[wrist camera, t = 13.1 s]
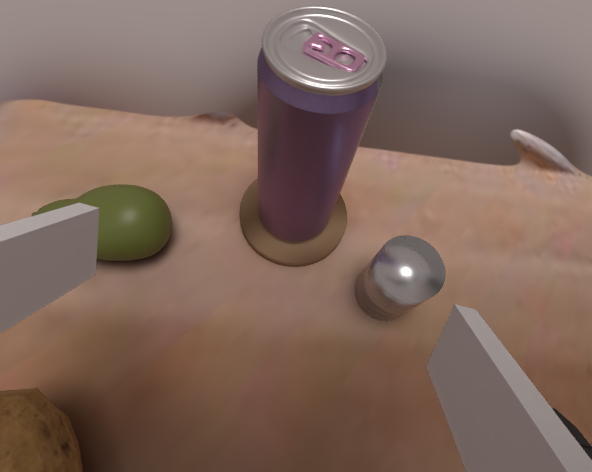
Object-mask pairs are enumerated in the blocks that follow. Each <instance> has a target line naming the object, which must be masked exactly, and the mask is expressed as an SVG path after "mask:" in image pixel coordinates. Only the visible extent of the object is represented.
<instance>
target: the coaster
mask: <svg viewBox="0 0 592 472" xmlns="http://www.w3.org/2000/svg"><path fill="white" fill-rule="evenodd" d="M240 221H241V227H242V231H243V234H244V236H245V238H246V240H247V242H248V243H249V245H250V246H251V247H252V248H253V249H254V250H255V251H256V252H257V253H258V254H259V255H261V256H262V257H264V258H265V259H267V260H269V261H271V262H274V263H276V264H280V265H284V266H305V265H309V264H313V263H316V262H318V261H320V260H322V259H324V258H325V257H327V256H328V255H329V254H330V253H331V252H332V251H333V250H334V249H335V248H336V247H337V245H338V244H339V242H340V240H341V238H342V236H343V234H344V231H345V228H346V223H347V212H346V207H345V203H344V201H343V199H342V197H341V195H340V194H339V197H338V199H337V202H336V204H335V207H334V209H333V212H332V215H331V217H330V220H329V222H328V224H327V226H326V227H325V229H324V230H323V231H322V232H321V233H320V234H318V235H317V236H315V237H313V238H311V239H308V240H304V241H288V240H284V239H281V238H279V237H277V236H275V235H274V234H272V233H271V232H270V231H269V230H267V228H266V227H265V226H264V225H263V223H262V221H261V219H260V217H259V213H258V179H256V180H255V181H254V182H253V183H252V184H251V185H250V186H249V187H248V189H247V190H246V192H245V194H244V196H243V198H242V201H241V206H240Z"/></svg>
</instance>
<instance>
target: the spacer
mask: <svg viewBox="0 0 592 472" xmlns="http://www.w3.org/2000/svg"><path fill="white" fill-rule="evenodd" d="M444 281H445V267H444V263H443V261H442V259H441V257H440V255H439V254H438V252H437V251H436V250H435V249H434V248H433V247H432V246H431V245H430V244H429V243H427V242H426V241H424V240H422V239H420V238H417V237H413V236H398V237H395V238H392V239H391V240H389V241H388V242H387V243H386V244H385V245H384V246H383V247H382V248H381V250H380V251H379V252H378V253H377V255H376V256H375V257H374V258H373V259H372V261H371V262H370V263H369V264H368V266H367V267H366V268H365V269H364V271H363V272H362V273H361V274H360V276H359V277H358V279H357V281H356V284H355V297H356V300H357V302H358V304H359V306H360V307H361V309H362V310H363V311H364V312H365V313H366V314H368V315H369V316H371V317H372V318H375V319H378V320H383V321H388V320H393V319H395V318H397V317H399V316H401V315H403V314H404V313H406V312H408V311H409V310H411V309H413V308H414V307H416V306H418V305H419V304H421V303H423V302H424V301H426V300H428V299H429V298H431V297H433V296H434V295H436V294H437V293H438V292H439V291H440V289H441V288H442V286H443V284H444Z"/></svg>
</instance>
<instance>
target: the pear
mask: <svg viewBox="0 0 592 472" xmlns="http://www.w3.org/2000/svg"><path fill="white" fill-rule="evenodd" d="M76 203H83V204H86V205H90V206H94V207H97V208H99V223H98V243H97V259H101V260H109V261H126V260H137V259H142V258H146V257H149V256H151V255H153V254H155V253H157V252H158V251H160V250H161V249H162V248H163V247H164V245H165V244H166V243H167V241H168V239H169V237H170V234H171V230H172V218H171V214H170V211H169V208H168V206H167V204H166V203H165V201H164V200H163V199H162V198H161V197H160V196H159V195H158V194H156V193H155V192H153V191H151V190H149V189H146V188H143V187H140V186H134V185H108V186H103V187H99V188H96V189H93V190H91V191H88V192H86V193H84V194H83V195H81V196H79V197H78V198H76V199H65V200H59V201H55V202H52V203H50V204H48V205H45V206H43V207H41V208H40V209H39V210H38V211H37V212H34V213H32V216H35V215H39V214H42V213H45V212H49V211H52V210H56V209H59V208H63V207H66V206H69V205H73V204H76Z"/></svg>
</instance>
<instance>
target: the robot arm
mask: <svg viewBox="0 0 592 472" xmlns="http://www.w3.org/2000/svg"><path fill="white" fill-rule="evenodd" d="M98 223H99V208H97V207H94V206H90V205H86V204H83V203H76V204H73V205H69V206H66V207H63V208H59V209H56V210H52V211H49V212H45V213H42V214H39V215H35V216H32V217H28V218H25V219H22V220H18V221H15V222H11V223H8V224H4V225H1V226H0V334H1V333H2V332H4V331H5V330H7V329H9V328H10V327H12V326H14V325H15V324H17V323H19V322H20V321H22V320H23V319H25V318H27V317H28V316H30V315H32V314H33V313H35V312H36V311H38V310H40V309H41V308H43V307H45V306H46V305H48V304H49V303H51V302H53V301H54V300H56V299H58V298H59V297H61V296H63V295H64V294H66V293H67V292H69V291H71V290H72V289H74V288H76V287H77V286H79V285H80V284H82V283H84V282H85V281H87V280H89V279H90V278H92V277H93V276H95V275H96V262H97V243H98ZM426 367H427V370H428V372H429V375H430V378H431V380H432V383H433V386H434V388H435V391H436V394H437V396H438V399H439V401H440V404H441V407H442V409H443V412H444V415H445V417H446V420H447V423H448V425H449V428H450V431H451V433H452V436H453V439H454V441H455V444H456V446H457V449H458V452H459V454H460V457H461V460H462V462H463V465H464V468H465V470H466V472H592V446H591V445H590V444H589V443H588V442H587V440H586V439H585V438H584V437H583V435H582V434H581V433H580V432H579V430H578V429H577V428H576V427H575V426H574V425H573V424H572V423H571V422H569V421H568V420H567V419H566V418H565V417H564V416H563V415H562V414H560V413H559V412H558V411H557V410H556V409H554V408H551V407H550V405H549V404H548V403H547V402H546V400H545V399H544V398H543V396H542V395H541V394H540V392H539V391H538V390H537V388H536V387H535V386H534V385H533V383H532V382H531V381H530V379H529V378H528V377H527V375H526V374H525V373H524V372H523V370H522V369H521V368H520V366H519V365H518V364H517V362H516V361H515V360H514V359H513V357H512V356H511V355H510V353H509V352H508V351H507V349H506V348H505V347H504V346H503V344H502V343H501V342H500V340H499V339H498V338H497V336H496V335H495V334H494V333H493V331H492V330H491V329H490V327H489V326H488V325H487V323H486V322H485V321H484V320H483V318H482V317H481V316H480V314H479V313H478V312H477V310H475V309H471V308H467V307H464V306H460V305H456V304H454V306H453V309H452V311H451V313H450V315H449V318H448V320H447V322H446V324H445V326H444V329H443V331H442V333H441V335H440V337H439V340H438V342H437V344H436V346H435V349H434V351H433V353H432V355H431V357H430V360H429V362H428V364H427V366H426Z"/></svg>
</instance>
